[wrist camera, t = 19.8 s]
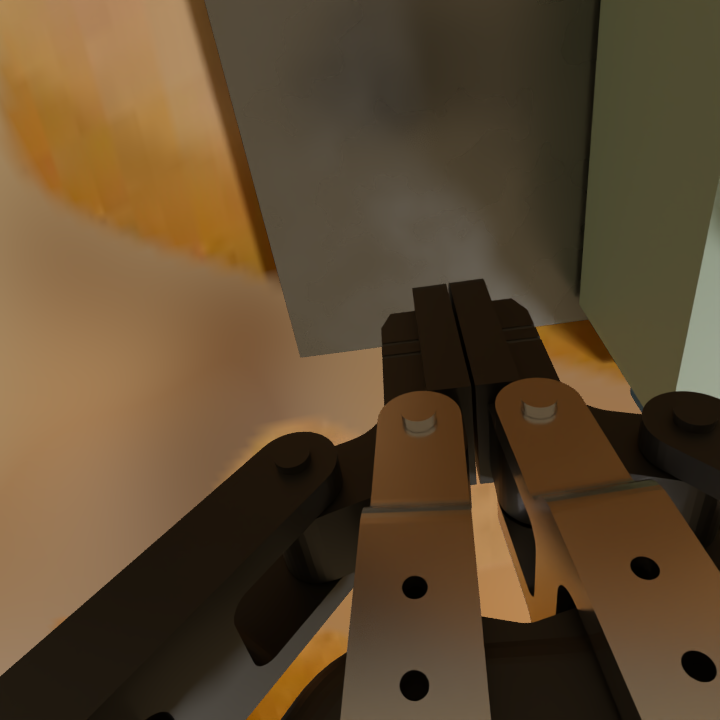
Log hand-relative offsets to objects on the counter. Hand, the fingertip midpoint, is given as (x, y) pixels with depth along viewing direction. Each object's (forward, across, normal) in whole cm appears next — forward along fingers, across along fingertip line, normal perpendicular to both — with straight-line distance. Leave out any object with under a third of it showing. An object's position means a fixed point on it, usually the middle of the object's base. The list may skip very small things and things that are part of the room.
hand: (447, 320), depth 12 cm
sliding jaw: (+10, -7, 0) cm, 12 cm away
